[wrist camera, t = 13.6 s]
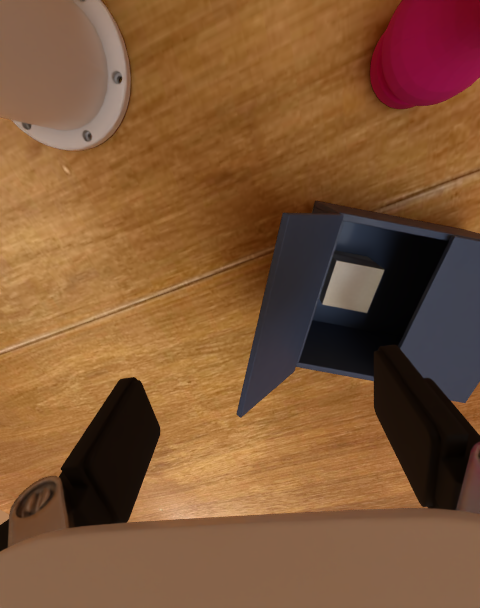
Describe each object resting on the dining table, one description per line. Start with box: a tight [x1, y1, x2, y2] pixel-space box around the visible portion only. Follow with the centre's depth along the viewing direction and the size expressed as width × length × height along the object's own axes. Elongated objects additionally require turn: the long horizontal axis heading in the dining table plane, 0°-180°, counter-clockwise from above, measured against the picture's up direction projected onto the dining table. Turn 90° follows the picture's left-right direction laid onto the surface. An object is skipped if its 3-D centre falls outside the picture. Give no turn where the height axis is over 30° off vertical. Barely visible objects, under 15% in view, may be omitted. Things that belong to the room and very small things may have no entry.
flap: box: [237, 213, 344, 418], centre depth 19 cm, size 7×13×1 cm
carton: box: [296, 201, 480, 403], centre depth 26 cm, size 15×13×10 cm
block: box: [319, 251, 384, 313], centre depth 28 cm, size 4×4×4 cm
